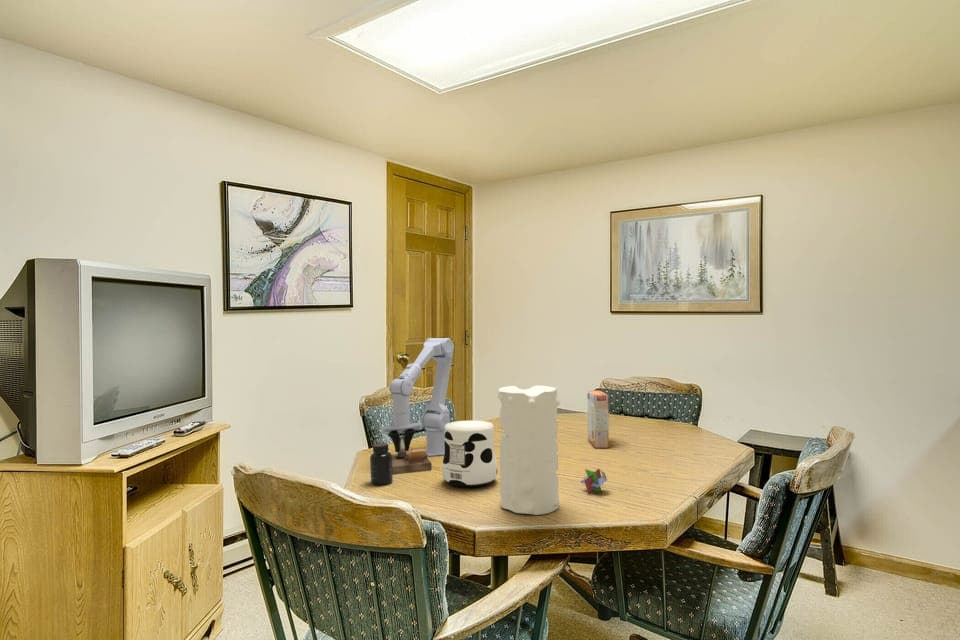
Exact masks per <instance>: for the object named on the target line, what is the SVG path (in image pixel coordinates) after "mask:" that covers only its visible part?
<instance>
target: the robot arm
mask: <svg viewBox="0 0 960 640" xmlns="http://www.w3.org/2000/svg"><path fill="white" fill-rule="evenodd" d="M454 348H455V345H454V343H453V340H451V338H449V337H445V338H444V337H442V338H441V337H440V338H439V337H437V338H436V337H429V338H427V339H426V340H425V342H424V343H423V348H422V350H421V352H420V353H419V354H418V355H417V357H416V359H415V360H414V362H413V363H409V364H407V365H406V366H405V369H404V370H403V371H402V372H401V373H400V374H399V376H398V377H397V378H394V379H393V380H391V383H390V385H389V387H388V389H389V390H388V391H389V393H390V395H391V399H392V405H393V407H392V409H393V410H392V411H393V413H392V415H393V416H392V418H393V420H392V421H393V422H392V423H393V424H389V425H385V426H380V433H382V434H385V433H388V434H389V436H390V437H391V439H392V443H393V447H394V451H395V452H396V453H398V452H399V436H400V434H399V432H404V436H406V452H409V450H410V446H411V443H412V440H413V437H414V435H415V433H416V432H415V430H422V429H423V428H424V431H425V432H426V434H425V435H426V439H425V440H426V453H425V455H427V457H432V456H433V457H435V456H444V454H445V445H444V438H445V434H444V431H445V425H446V424H448V423H451V422H450V421H451V420H450V410H449V408H447V406H446V400H447V399H446V398H447V391H448V385H449V381H450V375H451V366H452V360H453V354H454ZM431 359H433V360H434V361H435V362H436V369H435V370H436V371H435V376H434V382H433V388H432V393H431V400H430V403H429V404H428V405H426V407H424V412H423V414H422V416H421V422H413V423H411V419H410V418H411V417H410V415H411V414H410V412H411V411H410V394H411V393H412V392H413V390H414V386H415V383H416V381H417V380H418V379H419V378H420V377H421V375H422V369H423V368H424V366H425V365H426V364H427V363H428V362H430V360H431Z"/></svg>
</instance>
